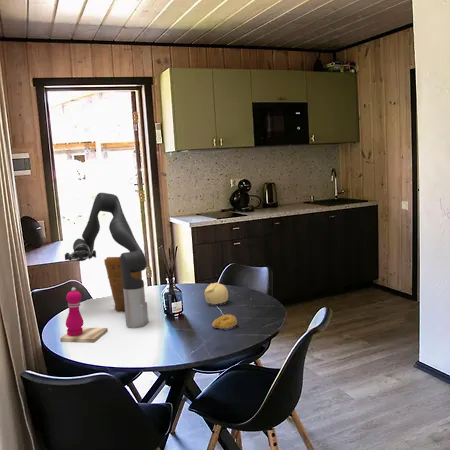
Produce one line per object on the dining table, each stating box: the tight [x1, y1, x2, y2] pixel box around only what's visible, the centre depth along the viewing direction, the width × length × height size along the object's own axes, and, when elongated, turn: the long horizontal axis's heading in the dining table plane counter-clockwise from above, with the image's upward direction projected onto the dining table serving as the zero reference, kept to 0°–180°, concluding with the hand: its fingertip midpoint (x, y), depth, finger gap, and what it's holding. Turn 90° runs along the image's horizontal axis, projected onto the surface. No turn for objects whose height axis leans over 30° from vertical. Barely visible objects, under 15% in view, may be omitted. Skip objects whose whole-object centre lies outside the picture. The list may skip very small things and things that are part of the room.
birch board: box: [60, 326, 109, 343], centre depth 203 cm, size 15×13×2 cm
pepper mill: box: [65, 286, 85, 336], centre depth 201 cm, size 7×7×20 cm
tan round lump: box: [204, 282, 229, 304], centre depth 240 cm, size 11×12×11 cm
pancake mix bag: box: [103, 256, 143, 313], centre depth 234 cm, size 7×19×28 cm, turn 72°
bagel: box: [211, 313, 238, 328], centre depth 206 cm, size 10×11×5 cm
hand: (80, 257), depth 221 cm, fingers open, 8 cm apart
